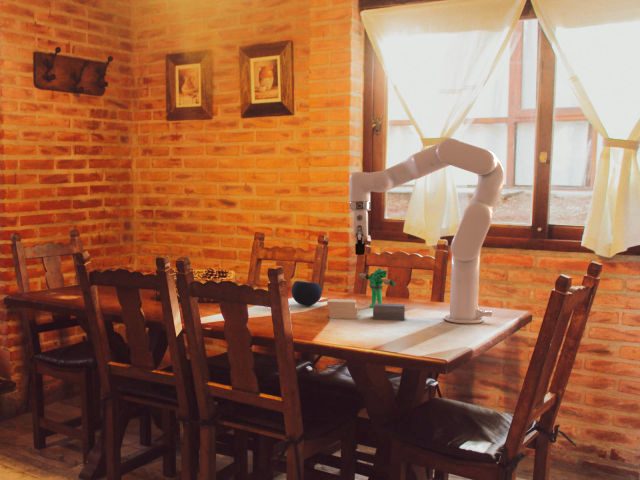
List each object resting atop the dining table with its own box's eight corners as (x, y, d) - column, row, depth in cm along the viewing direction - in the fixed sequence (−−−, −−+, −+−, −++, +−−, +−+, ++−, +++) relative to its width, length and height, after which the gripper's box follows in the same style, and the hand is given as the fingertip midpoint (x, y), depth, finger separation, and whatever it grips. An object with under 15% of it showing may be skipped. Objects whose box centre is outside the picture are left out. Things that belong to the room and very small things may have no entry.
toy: (404, 313, 279) (405, 273, 277) (390, 314, 276) (390, 274, 274) (368, 302, 302) (368, 265, 301) (354, 303, 300) (354, 266, 298)
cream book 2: (357, 310, 274) (357, 305, 274) (357, 313, 268) (357, 308, 268) (330, 309, 276) (330, 304, 276) (329, 312, 270) (329, 307, 270)
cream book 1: (356, 304, 274) (356, 299, 274) (355, 307, 268) (355, 302, 268) (328, 304, 276) (328, 298, 276) (327, 307, 270) (327, 301, 270)
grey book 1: (404, 310, 270) (404, 304, 270) (404, 313, 265) (404, 306, 265) (373, 309, 272) (373, 303, 272) (373, 312, 268) (373, 305, 267)
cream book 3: (357, 315, 274) (358, 310, 274) (357, 318, 268) (357, 313, 268) (330, 314, 276) (330, 309, 276) (329, 317, 271) (329, 312, 270)
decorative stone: (320, 308, 288) (321, 283, 287) (290, 308, 290) (290, 282, 289) (322, 303, 300) (322, 278, 299) (292, 302, 302) (292, 278, 300)
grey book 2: (404, 317, 270) (404, 310, 270) (404, 320, 266) (404, 313, 265) (373, 316, 273) (373, 309, 272) (372, 319, 268) (373, 312, 268)
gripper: (370, 207, 262) (370, 255, 265) (370, 205, 279) (371, 250, 281) (348, 207, 264) (348, 256, 266) (350, 205, 281) (350, 250, 283)
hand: (360, 253), depth 274 cm, fingers open, 9 cm apart
